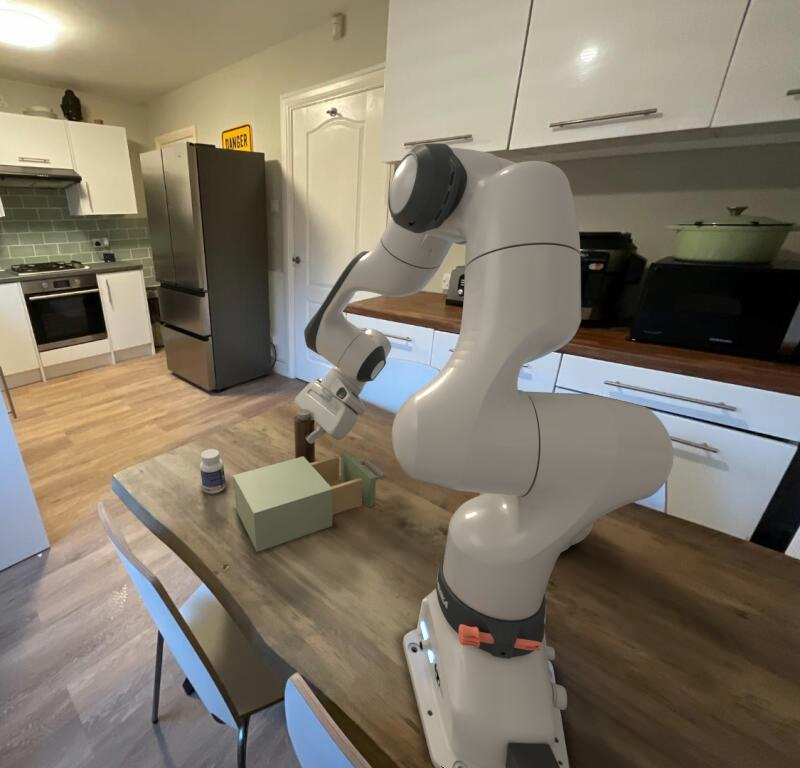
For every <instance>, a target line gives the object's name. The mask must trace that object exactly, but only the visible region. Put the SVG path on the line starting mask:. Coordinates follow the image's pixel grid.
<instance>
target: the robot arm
mask: <svg viewBox="0 0 800 768" xmlns="http://www.w3.org/2000/svg"><path fill="white" fill-rule="evenodd" d="M394 171H395V172H394V174H393V175H392V179H391V182H390V187H389V193H388V203H387V205H388V210H389V213H390V216H391V217H390V219H389V221H388V223H387V224H386V226H385V228H384V230H383V233H382V235H381V237H380V239H379V241H378V243H377V244H376V246H374V247H373V249H371V250H370V251H369V250H367V251H365V250H363V251H361V252H359V253H358V254H356V256H354V257H353V258H352V259H351V261H349V262H348V264H347V265H346V266H345V268H343V269H344V270H343V271H342V272H341V274H340V275H339V277H338V278H337V280H336V282H335V283H334V285H333V286H332V288H331V289H330V291H329V292H328V294H327V296H326V298H325V299H324V301H323V302H322V304H321V305H320V307H319V308H318V310H317V311H316V313H315V314H314V315H313V317H312V318H311V319H310V320H309V322H308V323H307V325H306V327H305V328H304V332H303V334H304V336H303V337H304V341H305V345H306V348H307V349H309V350H310V351H312V352H314V353H315V354H317V355H319V356H321V357H322V358H323V359H325V360H326V361H328V363H330V364H332V365H333V367H332V368H331V369H330V370H329V371H328V373H327V374H326V375H325V377H324V378H321V377H319V378H317V379H314V380H313V381H311V382H309V383H307V385H306V386H305V387H303V389H302V390H301V391H300V392H299V393H298V394H297V395H296V397H295V399H294V405H296V406H297V407H298V408H299V409H300V410H301V409H308V410H310V411H311V418H312V419H313V420H314V423H316V424H317V425H316V427H315V431H314V432H312V433H311V434H310V433H308V434H307V436H305V439H306V440H307V441H308V442H309V443H310V444H312V443H313V442H314V441H315V442H316V440H317V439H319V438H321V437H324V436H325V435H326V433H327V434H328V435H329V436H331V437H332V438H333V439H334V440H336V441H341V440H343V439H344V438H346V436H347V435H348V434H349V433H350V432H351V431H352V429H353V428H354V426H355V425H356V423H357V422H358V419H359V416H362V415H364V413H365V412H366V410H367V408H366V407H365V405H364V403H363V401H362V399H361V397H360V394H361V393H362V392H363V390H364V387H365V385H366V384H367V383H368V382H369V383H370V382H373V381H374V380H376V378H377V376H378V375H379V374H380V373H381V372H382V371H383V369H384V368H385V366H386V365H387V358H388V356H389V354H390V353H391V350H392V343H391V341H390V340H389V338H387V337H386V335H385V334H384V333H382V332H381V331H379V330H377V329H374V328H368V329H365V331H363V330H362V329H360V328H359V327H357V325H355V324H353V323H352V322H351V321H349V320H348V319H347V318H346V317H345V315H344V310H345V309H346V307H347V306H348V305H349V304H350V302H351V300H352V299H353V297H354V296H355V294H356V293H357V292H367V293H372V294H378V295H381V296H385V297H391V298H400V297H407V296H412V295H414V294H416V293H419V292H420V291H423V290H424V289H425V288H426V287H427V285H428V284H429V283H430V282H431V280H433V278H434V276H435V275H436V274H437V272H438V270H439V269H440V267H441V265H442V264H443V262H444V260H445V259H446V257H447V255H448V254H449V251H450V250H451V247H452V245H453V244H456V245H462V246H465V254H464V256H465V258H464V288H463V289H464V290H463V292H464V293H463V303H462V304H463V306H462V315H461V322H460V330H459V334H458V338H457V342H456V344H455V346H454V349H453V351H452V353H451V355H450V357H449V359H448V360H447V362H446V363H445V364H444V366H443V367H442V369H441V370H440V371H439V372H438V373H437V375H436V376H434V378H432V379H431V380H430V381H429V382H427V384H425V385H424V386H423V387H422V388H420V389H418V390H417V391H415V392H414V393H413V394H411V395H410V396H408V398H407V399H405V401H404V402H403V403H402V404H401V406H400V407H399V409H398V410H397V412H396V414H395V416H394V419H393V422H392V428H391V444H392V449H393V453H394V455H395V458H396V460H397V463H398V464H399V465H400V467H401V469H402V470H403V471H404V473H405V474H406V475H407V476H408V477H409V478H411V479H412V480H416V481H419V482H422V483H425V484H428V485H432V486H436V487H440V488H443V489H447V490H451V491H458V492H469V493H479V495H477V496H475V497H472V498H469V499H468V500H467V501H465V502H463V503H462V504H461V505H460V506H459V507H458V508H457V509H456V510H455V512H454V513H453V515H452V516H451V518H450V520H449V522H448V528H447V535H446V543H445V550H444V555H443V557H442V558H441V560H440V563H439V566H438V568H437V573H436V584H435V588H434V589H433V590H432V591H431V592H429V594H427V595H426V596H425V597H424V598H423V599H422V601H421V606H420V610H419V615H418V619H417V620H418V621H417V626H416V628H415V629H413V630H410V631H408V632H407V633H406V634H405V635H404V636H403V640H402V648H403V652H404V656H405V659H406V664H407V668H408V672H409V676H410V680H411V685H412V689H413V693H414V696H415V700H416V705H417V709H418V713H419V717H420V721H421V725H422V729H423V733H424V737H425V741H426V745H427V749H428V754H429V758H430V760H431V763H432V765H433V767H434V768H442V767H444V768H570V763H569V757H568V751H567V745H566V738H565V733H564V727H563V720H562V713H561V711H565V710H567V706H568V695H567V690H566V688H565V687H564V686H563V685H560V684H557V683H556V676H555V671H554V666H553V664H552V662H551V661H555V659H556V652H555V647H552V646H549V645H547V640H546V639H547V638H546V632H545V625H546V621H547V608H546V607H547V606H546V602H547V600H546V590H547V586H548V583H549V581H550V578H551V575H552V572H553V571H554V570H553V569H554V567H555V565H556V563H557V560H558V558H559V556H560V555H561V553H562V552H564V551H563V549H564V548H565V547H566V546H567V545H568V544H569V543H570V542H571V541H572V540H573V539H574V538H575V537H576V536H577V535H578V534H579V533H580V532H582V531H583V530H584V529H585V528H587V527H588V526H589V525H591V524H592V523H593V522H594V523H595V522H597V521H598V520H599V519H601V518H602V517H604V516H605V515H607V514H610V513H611V512H613V511H616V510H617V509H619V508H622V507H625V506H627V505H630V504H633V503H635V502H638V501H642V500H646V499H648V498H651V497H652V496H653V495H655V494H656V493H657V492H658V491H659V490H660V489H661V488H662V487H663V486H664V485H665V483H666V482H667V481H668V479H669V477H670V476H671V473H672V469H673V465H674V459H675V457H674V455H675V452H674V445H673V442H672V439H671V436H670V433H669V431H668V429H667V428H666V426H665V425H664V423H663V421H662V420H661V419H660V418H659V417H658V416H657V415H656V414H655V412H653V411H652V410H651V409H650V408H648V407H646V406H644V405H642V404H638V403H634V402H629V401H626V400H621V399H617V398H612V397H606V396H603V395H597V394H592V393H574V392H573V393H570V392H551V391H550V392H549V391H548V392H547V391H525V390H521V389H519V386H518V384H519V377H520V372H521V370H522V368H523V366H524V365H526V364H529V363H531V362H534V361H537V360H539V359H541V358H544V357H546V356H547V355H550V354H551V353H554V352H556V351H558V350H560V349H561V348H563V347H564V346H566V345H567V344H568V343H569V342H570V341H571V340H572V339H573V338H574V337H575V336H576V334H577V331H578V330H579V328H580V325H581V322H582V269H581V268H582V266H581V264H582V262H581V238H580V237H581V236H580V228H579V227H580V226H579V220H578V214H577V208H576V204H575V198H574V194H573V191H572V188H571V184H570V181H569V179H568V177H567V175H566V174H565V172H564V171H563V170H562V169H561V168H560V167H559V166H556V165H555V164H554V163H553V164H552V163H551V162H548V161H540V160H528V161H527V160H526V161H520V162H514V161H512V160H509V159H506V158H503V157H499V156H496V155H495V154H493V153H490V152H486V151H481V150H477V149H476V150H475V149H470V148H461V147H451V146H449V145H448V144H446V143H435V142H434V143H433V142H432V143H430V142H429V143H421V144H418V145H416V146H414V147H413V148H411V149H410V150H409V151H408V152H407V153H406V154H405V155H404V156H403V157H402V158H401V160H400V161H399V163H398V165H397V166H396V169H395V170H394ZM480 493H485V494H483V495H480ZM414 651H415V652H414ZM441 766H442V767H441Z"/></svg>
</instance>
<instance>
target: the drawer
mask: <svg viewBox="0 0 800 768" xmlns="http://www.w3.org/2000/svg"><path fill="white" fill-rule="evenodd" d="M310 464H311V465H312V466H313V468H314V469H315V470H316V471H317V472H318V473H319V474H320V475H321V476H322V478H323V479H324V480H325V481H326V482H327V483H328V484H329V485H330V487H331V488H332V489H333V506H332V516H334V515H337V514H339V513H342V512H346V511H348V510H351V509H354V508H357V507H360V506H362V501H363V502H364V503H365V504H366V505H367V506H368V507H369V508H371V507H373V506H375V501H376V500H375V499H376V481H378V480H381V481H384V480H385V479H386V478H387V475H386V474H385V473H384V472H383V471H382V470H381V469H380V468H379V467H377V466H376V465H375V464H374V463H373V462H371V461H370V460H369V459H368V458H366V457H365V458H363V459H362V461H359V460H357V459H356V458H355V457H354V456H352V454H350V453H349V452H348V451H347V450H346V449H344V450H342V451H340V456H339V455H335V456H331V457H328V458H323V459H321V460H318V461H315V462H313V463H310ZM341 479H342V480H343V481H344V482H343V481H342V480H341Z"/></svg>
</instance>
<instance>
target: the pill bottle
mask: <svg viewBox="0 0 800 768" xmlns="http://www.w3.org/2000/svg"><path fill="white" fill-rule="evenodd" d="M200 458H201V462H200V463H199V472H200V478H201V486H202V490H203V492H204V493H207V494H212V495H213V494H217V493H220V492H223V491H224V489H225V488H226V474H225V467H224V461H223V460H222V459H221V456H220V451H219V450H218V449H215V448H209V449H206V450H204V451H202V452H201V454H200Z"/></svg>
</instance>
